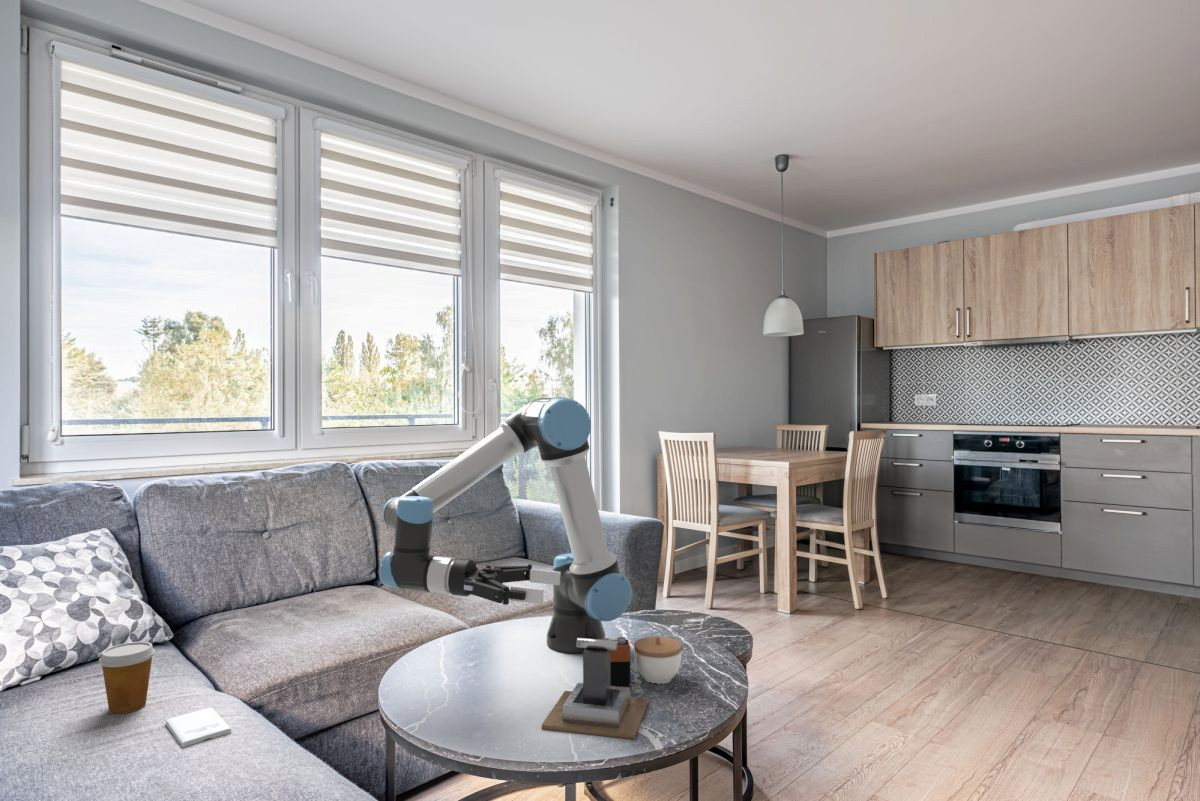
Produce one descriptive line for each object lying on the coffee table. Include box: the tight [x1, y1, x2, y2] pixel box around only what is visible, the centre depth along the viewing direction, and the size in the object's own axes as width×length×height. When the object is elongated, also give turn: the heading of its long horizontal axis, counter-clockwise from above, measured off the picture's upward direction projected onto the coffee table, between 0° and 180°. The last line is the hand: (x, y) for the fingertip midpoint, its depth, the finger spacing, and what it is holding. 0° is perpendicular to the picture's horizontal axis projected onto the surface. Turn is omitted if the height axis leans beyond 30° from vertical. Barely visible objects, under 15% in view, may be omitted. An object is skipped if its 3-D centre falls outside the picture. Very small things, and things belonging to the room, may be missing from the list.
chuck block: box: [541, 682, 650, 740], centre depth 140 cm, size 16×18×4 cm
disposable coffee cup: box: [98, 641, 156, 715], centre depth 144 cm, size 10×10×12 cm
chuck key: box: [576, 638, 618, 706], centre depth 140 cm, size 4×8×14 cm, turn 77°
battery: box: [603, 636, 631, 688], centre depth 155 cm, size 4×7×10 cm, turn 92°
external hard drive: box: [165, 707, 232, 748], centre depth 134 cm, size 2×8×12 cm
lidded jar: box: [633, 635, 683, 685], centre depth 158 cm, size 11×11×9 cm
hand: (552, 587), depth 143 cm, fingers open, 13 cm apart
